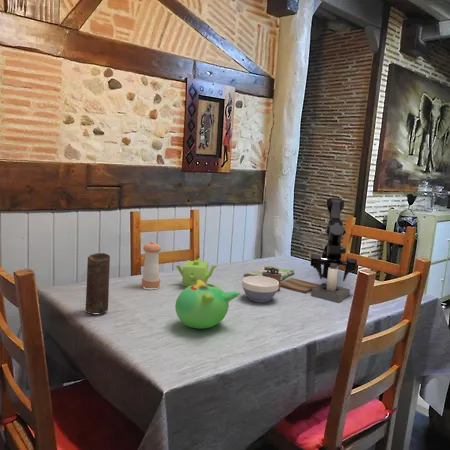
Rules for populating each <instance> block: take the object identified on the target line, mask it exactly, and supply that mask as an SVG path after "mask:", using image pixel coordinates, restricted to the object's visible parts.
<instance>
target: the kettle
mask: <svg viewBox="0 0 450 450" xmlns="http://www.w3.org/2000/svg"><path fill="white" fill-rule="evenodd" d="M175 267H176V268H177V270H178V272H179V274H181V277H182V281H181V282H182V283H181V284H182V287H184V288H185V287H186V288H187V287H189V286H191V285H194V284H196V283H197V280H202V281H203V282H204V283H207V282H208V279H210V278H211V276H212V274H213V272H214V269H215V268H217V267H219V265H217V264H214V265H212V266H210V269H209V262H207V261H202V258H201V257H198V258H197V259H195V260H187V261H186V263H185V264H184V265H183V266H181V265H180V264H177V265H176V266H175ZM207 284H208V283H207ZM186 288H185V289H186Z"/></svg>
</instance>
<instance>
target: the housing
mask: <svg viewBox="0 0 450 450" xmlns="http://www.w3.org/2000/svg"><path fill="white" fill-rule="evenodd" d="M326 286H327V282H326V283H325V282H323V283H321V284H320V283H319V285H318V286H316V287H314V288H312V291H310V292H311V294H310V295H311V297H314V298H319V299H323V300H326V301H330V302H335V303H337V304H338V303H341V302H342V301H344V300H346V299H347V298H349V297H350V293H351V288H347V287H343V286H342V287H341V286H338V285H337V286H336V292H333V291H329V290H326Z"/></svg>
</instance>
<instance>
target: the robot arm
mask: <svg viewBox="0 0 450 450" xmlns="http://www.w3.org/2000/svg"><path fill="white" fill-rule="evenodd" d="M325 206H326V212H327V213H328V215H329V221H328V223H327V225H326V226H325V227H326V229H325V234H326V235H327V243H326V245H325V246H324V248H323V251H322V252H321V254H311V257H310V266H311V267H313V268H314V269H315V270H316V272H317V274H318V276H319V278H320V280H322V277H324V278H327V276H328V267H330V263H337V267H338V266H343V267H345V269H344V273H343V277H342V278H343V279H342V280H343V281H342V282H345V281H346V278H347V276H348V275H349V274H350V273H352V272H355V271H356V269H357V265H358V260H357V259H356V258H351V257H347V258H346V260H342V254H343V255H345V254H346V252H347V251H346V250H347V246H346V245H343V244H342V240H343V236H345V235H346V233H347V232H346V231H347V230H346V229H345V227H344V225H343V221H342V220H341V213H342V210H343V209H344V207H345V200H344V199H342V198H339V197H338V198H337V197H329V198H326V205H325ZM322 265H323V266H322Z"/></svg>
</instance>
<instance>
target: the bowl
mask: <svg viewBox="0 0 450 450" xmlns="http://www.w3.org/2000/svg"><path fill="white" fill-rule="evenodd" d="M241 287H242V290H243V291H244V294H245V295H246V297H247V298H248V300H249V301H251V302H253V303H259V304H263V303H269V302H271V300H272V299H273V298H274V296H275V295H276V293H278V292H277V290H278V288H279V282H278V281H277V280H275V279H273V278H269V277H264V276H248V277H243V278H242V280H241Z"/></svg>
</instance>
